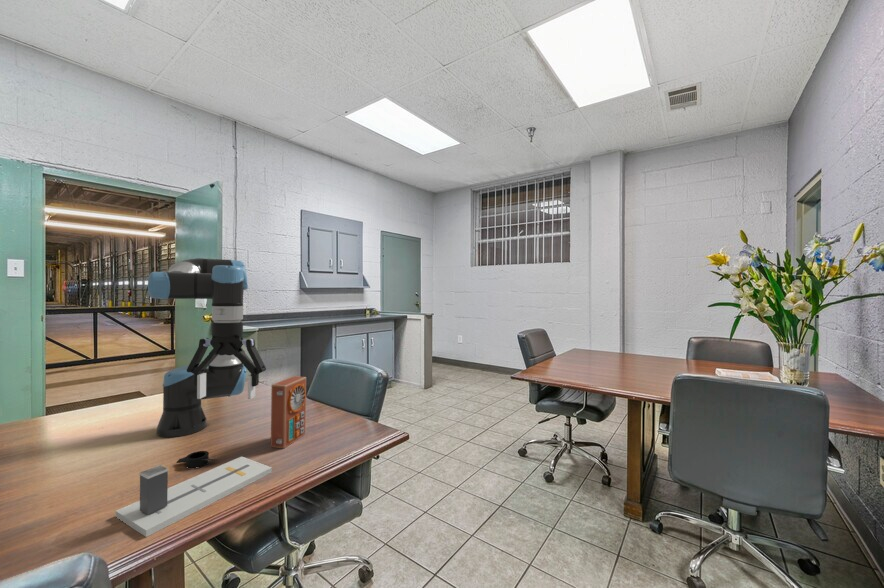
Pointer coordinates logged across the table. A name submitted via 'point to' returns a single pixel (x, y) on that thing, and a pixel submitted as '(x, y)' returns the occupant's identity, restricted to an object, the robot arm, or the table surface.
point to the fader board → (194, 495)
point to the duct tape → (196, 459)
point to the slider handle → (153, 489)
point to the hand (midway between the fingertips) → (226, 397)
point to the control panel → (288, 411)
